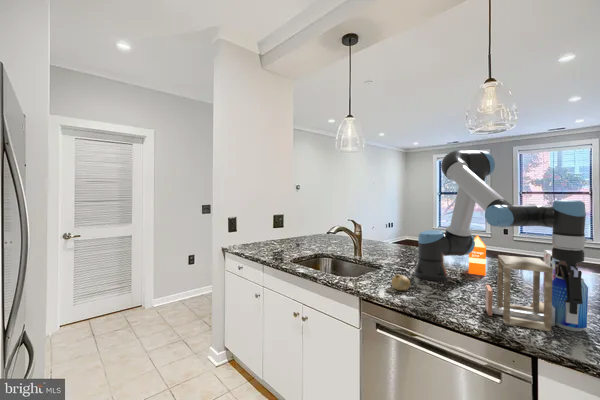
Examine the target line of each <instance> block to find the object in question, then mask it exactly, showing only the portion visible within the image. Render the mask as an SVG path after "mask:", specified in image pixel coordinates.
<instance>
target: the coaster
mask: <svg viewBox="0 0 600 400" xmlns="http://www.w3.org/2000/svg"><path fill="white" fill-rule="evenodd" d="M530 307H532V308H533V302H531V303H530ZM539 313H541V314H544V301H543V302H542V301H539Z"/></svg>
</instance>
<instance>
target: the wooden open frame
mask: <svg viewBox="0 0 600 400" xmlns="http://www.w3.org/2000/svg"><path fill="white" fill-rule="evenodd" d="M511 270H521V271H529V272H530V271H531V272H532V273H533V274H532V277H533V278H532V303H533V308H532V307H531V306H525V305H519V304H518V305H517V304H511V275H512V274H511ZM541 272H542V273H544V272H545V283H544V282H543V283H544V284H543V286H544V287H543V302H544V313H543V314H544V322H541V321H535V320H529V319H523V318H517V317H511V316H510V309H515V310H521V311H528V312H534V313H540V312H539V302H540V293H541V292H540V290H541V288H540V287H541ZM552 276H553V268H552V267H550V266H549V265H548V264H546V263H545V262H544V260H542V259H541V258H539V257H528V256H527V257H525V256H515V255H504V254H497V282H496V283H497V287H496V291H497V294H496V296H497V297H496V307H502V308H504V309H503V315H502V317H503V319H502V322H503V324H506V325H512V326H518V327H524V328H528V329H535V330H540V331H547V332H552V326H551V317H552Z"/></svg>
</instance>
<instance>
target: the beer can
mask: <svg viewBox="0 0 600 400" xmlns="http://www.w3.org/2000/svg"><path fill="white" fill-rule="evenodd" d="M581 286H582V302H583V303H582V304H579V307H578V324H572V323H566V322H565V319H566V302H565V301H564V300H567V293H566V288H567V287H566V282H565V280H563V278H562V276H558V275H556V277H555V278H554V279H553V280H552V305H553V306H554V307H555V326H557V327H559V328H561V329H564V330H568V331H572V332H583V331H584V330H586V328H588V304H589V301H588V298H589V286H587V284H586V283H585V279H584V278H582V277H581Z"/></svg>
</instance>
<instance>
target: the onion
mask: <svg viewBox="0 0 600 400" xmlns="http://www.w3.org/2000/svg"><path fill="white" fill-rule="evenodd" d="M410 280H411V279H409V278H408V277H407V276H405V275H404V274H403V275H402V274H399V273H397V274H395V276H393V277H392V279H391V286H392V288H393V289H394V290H397V291H404V292H405V291H408V290H409V289H410V287H411V281H410Z"/></svg>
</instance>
